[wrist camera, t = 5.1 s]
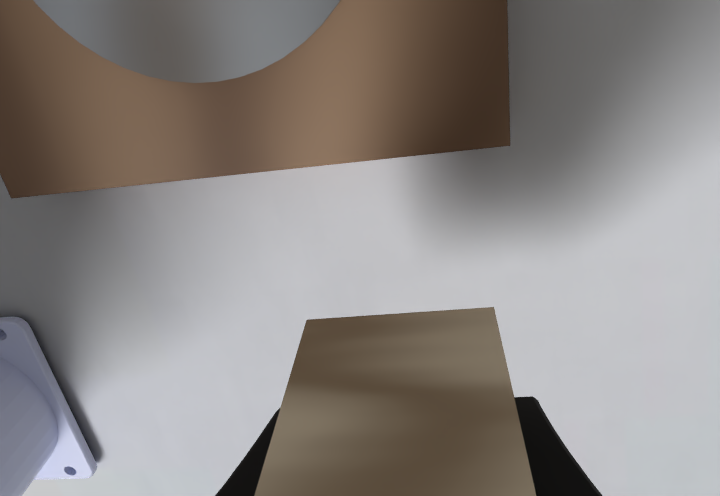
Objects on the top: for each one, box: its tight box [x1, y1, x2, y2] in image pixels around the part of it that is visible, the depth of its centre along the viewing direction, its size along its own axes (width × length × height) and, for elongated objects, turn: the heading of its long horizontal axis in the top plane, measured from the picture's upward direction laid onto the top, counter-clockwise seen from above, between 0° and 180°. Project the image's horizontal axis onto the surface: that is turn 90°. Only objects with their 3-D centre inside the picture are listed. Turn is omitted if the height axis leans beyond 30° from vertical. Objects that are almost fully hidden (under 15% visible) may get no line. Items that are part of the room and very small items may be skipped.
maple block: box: [254, 307, 536, 496], centre depth 12 cm, size 4×4×6 cm
